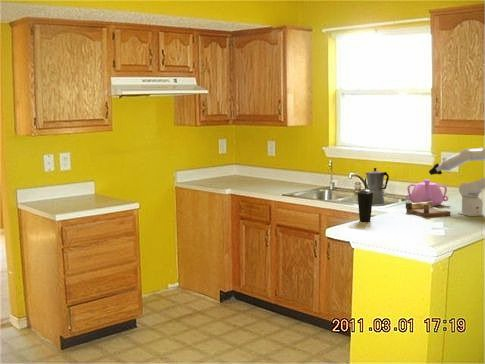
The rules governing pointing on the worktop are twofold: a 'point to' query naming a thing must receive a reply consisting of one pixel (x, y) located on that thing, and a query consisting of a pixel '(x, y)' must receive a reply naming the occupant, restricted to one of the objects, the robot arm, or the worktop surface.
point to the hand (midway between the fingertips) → (434, 170)
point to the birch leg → (418, 205)
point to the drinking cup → (365, 204)
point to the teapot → (427, 193)
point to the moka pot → (377, 185)
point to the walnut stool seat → (429, 211)
